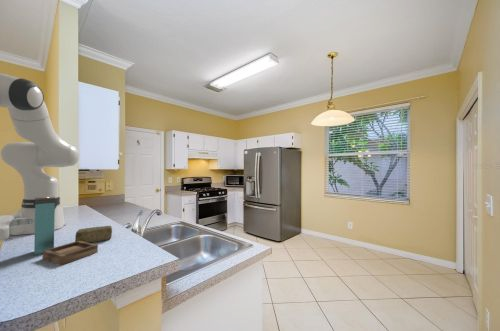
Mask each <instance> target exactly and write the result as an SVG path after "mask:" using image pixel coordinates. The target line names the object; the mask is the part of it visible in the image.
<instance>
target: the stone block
mask: <svg viewBox="0 0 500 331" xmlns="http://www.w3.org/2000/svg"><path fill="white" fill-rule="evenodd" d="M112 234H113V228H112V226H111V225H103V226H93V227H85V228H79V229H78V230H77V231H76V233H75V236H74V237H75V238H74V239H75V241H74V242H76V241H83V242H88V243H96V242H97V243H98V242H102V241H107V240H110V239H111V238H112Z"/></svg>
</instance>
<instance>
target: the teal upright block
mask: <svg viewBox="0 0 500 331" xmlns="http://www.w3.org/2000/svg"><path fill="white" fill-rule="evenodd" d="M54 217H55V197H40V198H35V233H34V242H33V243H34V244H33V245H34V246H33V247H34V249H33V251H34V252H33V253H34V255H33V256H39V255H41V254H42V255H43V251H44V250H48V249H51V248H55V230H54Z"/></svg>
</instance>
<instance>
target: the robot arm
mask: <svg viewBox="0 0 500 331" xmlns="http://www.w3.org/2000/svg"><path fill="white" fill-rule="evenodd" d="M44 99H45V94H44V92H43V90H42V89H41V87H40V86H39V85H38V84H37V83H35V82H33V81H31V80H30V79H29V80H28V79H25V78H19V77H17V76H13V75H10V74H6V73H1V72H0V108H7V110H8V114H9V117H10V119H11V121H12V124H13V127H14V130H15V132H16V134H17V135H18V136H19V137H21V138H22V139H24V140H27V141H18V142H17V141H16V142H8V143H6V144H5V145H3V147H2V148H1V150H0V158H1V160H2V161H3V162H4V163H5V164H7V165H8V166H10V167H12V168H13V169H14V170H16V171H17V173H18V174H19V175H20V177H21V179H22V183H23V192H24V194H23V197H24V198H23V199H22V202H21V205H20V209H19V210H18V211H17V212H16V213H15V214H14V215H11V214H7V215H6V214H5V215H4V214H3V215H0V242H3V241H5V240H8V239H9V238H10V236H21V235H31V234H33V235H35V198H40V197H55V217H54V231H55V230H56V231H57V230H59V229H61V228H63V227H64V226H66V225H67V224H68V223H67V221H65V219H64V210H63V207H61V197H60V196H59V195H60V193H59V192H60V182H59V180H58V178H56V177H55V176H53V175H51V174H48V173H46V172H45V171H44V169H43V168H64V167H65V168H66V167H72V166H75V165H76V164H77V163H78V161H79V159H80V152H79V150H78V148H77V147H76V146H75V145H72V144H70V143H68V142H66V141H65V140H64V139H63V138H61V137H60V135H59V134H57V132H56V130H55V129H54V126H53V123H52V121H51V117H50V113H49V109H48V107H47V104H46V102H45V100H44Z"/></svg>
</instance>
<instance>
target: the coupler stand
mask: <svg viewBox="0 0 500 331" xmlns="http://www.w3.org/2000/svg"><path fill="white" fill-rule="evenodd" d="M98 246H99V245H98V244H96V243H93V242H90V243H88V242H83V241H76V242H75V241H73V242H70V243H66V244H63V245H59V246H54V248H51V249H48V250H44V251H43V254H42V260H44V261H48V262H51V263H54V264H58V265H61V266H64V265H66V264H69V263H71V262H74V261H78V260H80V259H84V258H85V257H88V256H91V255H94V254H96V253H98V251H99V250H98V248H99V247H98Z"/></svg>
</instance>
